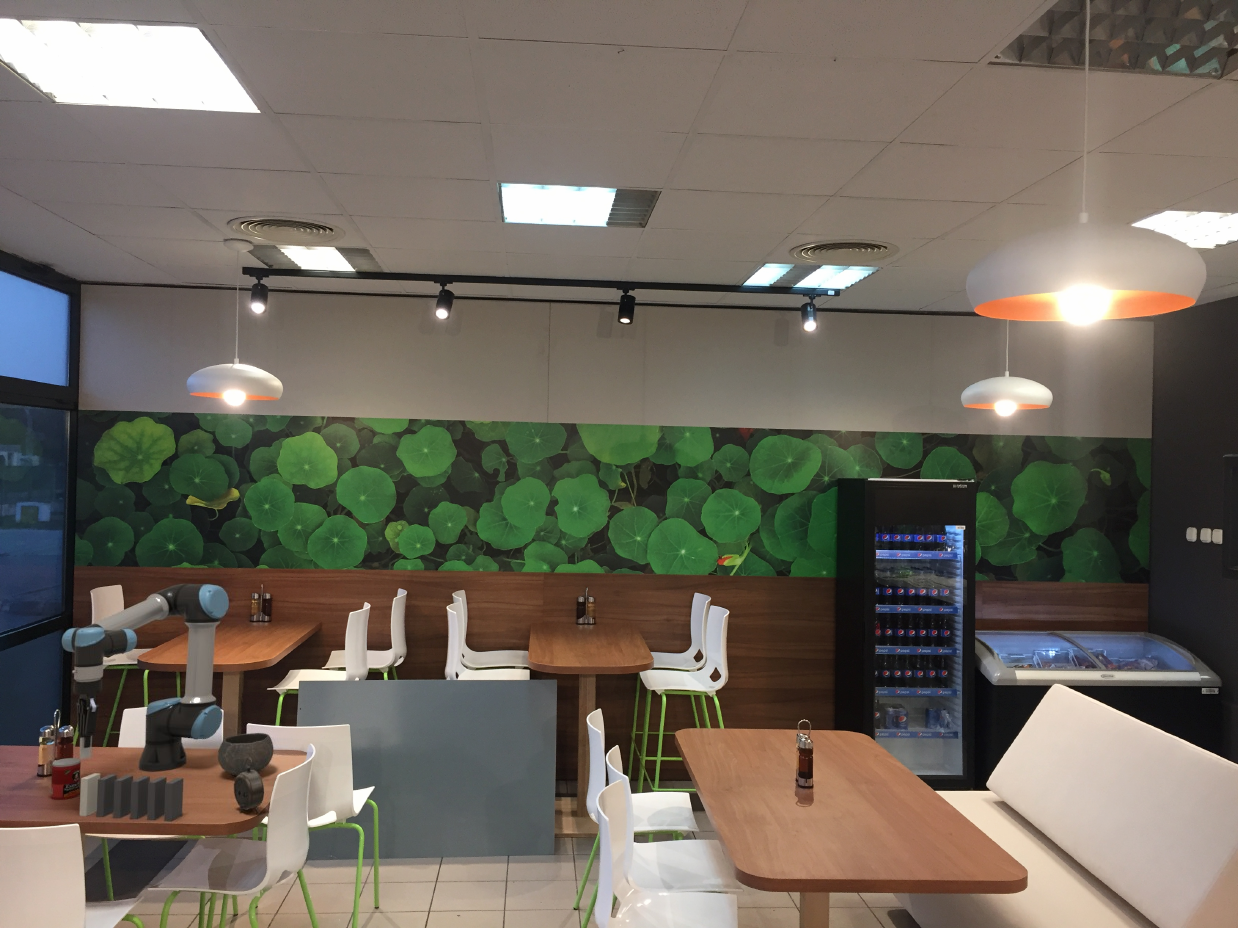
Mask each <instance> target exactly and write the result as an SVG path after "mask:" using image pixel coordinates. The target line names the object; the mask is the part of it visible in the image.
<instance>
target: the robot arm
mask: <svg viewBox="0 0 1238 928" xmlns="http://www.w3.org/2000/svg"><path fill="white" fill-rule="evenodd" d="M229 600H230V599H229V596H228V593H227V592H226V590H225V589H224V588H223V587H222V586H219V585H216V584H215V585H214V584H207V583H206V584H203V583H202V584H200V583H198V584H194V583H193V584H192V583H181V584H175V585H172V586H169V587H167V588H163V589H162V590H159V591H157V592H154V593H151V594H150V595H148V597H147V598H146V599H145V600H143V601H141V602H139V603H137V604H134V605H132V606H130V607H128V608H125V609H123V610H120V611H118V612H116V613H113V614H111V615H110V616H108V617H105V618H103V619H101V620H99V621H98V620H97V622H94V623H92V624H89V625H87V626H85V627H81V628H80V627H75V628H73V627H72V628H69V629H67V630H66V631H65V632H64V633H63V635H62V638H61V645H62V648H63V650H65V651H67V652H72V653H74V670H72V674H73V680H74V682H73V689H72V691H73V694H74V695H79V698H78V699H76V700H75V705H76V719H77V720H76V721H77V733H79V758H78V759H80V760H84V759H90V758H91V759H92V743H93V742H92V741H93V736H95V735H96V728H97V720H98V719H97V718H98V711H99V709H100V705H99V704H97V703H98V702H97V700H98V699H97V697H96V694H97V693H100V692H102V691H103V679H102V678H103V676H104V658H106V657H111V656H116V655H121V654H122V655H123V654H125V653H129V652H132V651H133V650H134V649H135V648H136V646H137V642H138V640H137V639H138V637H137V635H136V632H135V631H134V630H136V629H139V628H140V627H142V626H145V625H146V624H149V623H151V622H153V621H155V620H158V621H162V620H164V619H166V618H171V617H184V624H185V625H186V626H187V627H188V638H187V639H188V642H187V657H186V675H185V689H184V690H185V691H184V692H185V693H184V696H183V697H171V698H170V697H169V698H166V699H160V700H156V701H152V702H150V703H149V704H147V707H146V711H145V712H146V713H145V735H144V736H145V737H144V738H145V739H144V741H145V743H144V747H143V749H142V752H141V756H140V758H139V760H138V769H139V770H141V771H146V772H160V771H168V770H172V769H177V768H180V767H183V766H184V765H185V764H187V754H186V751H185V748H184V745H183V741H182V739H191V740H192V739H193V740H206V739H207V740H208V739H210V738H211V737H213V736H214V735H215V734H216V733H217V731H218V730H219V729H220V727H221V724H222V721H223V710H222V708H221V707H220V706H218V705H216V703H217V698H216V697H215V696H214V695H213V694H212V693H213V675H214V660H215V659H214V658H215V657H214V656H215V639H216V627H217V626H218V625H219V624H220V623H221V619H222V618H223V617H224V616H225V615H226V613H227V611H228V610H229V606H230V605H229V604H230V601H229Z"/></svg>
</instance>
